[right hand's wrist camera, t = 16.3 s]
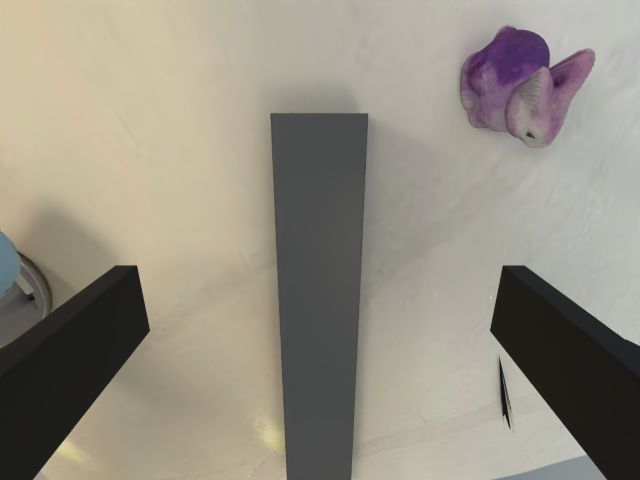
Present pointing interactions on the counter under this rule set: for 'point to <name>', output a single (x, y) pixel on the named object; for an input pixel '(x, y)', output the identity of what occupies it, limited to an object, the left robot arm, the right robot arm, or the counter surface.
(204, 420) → the counter surface
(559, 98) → the figurine
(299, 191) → the slab
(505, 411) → the feather
